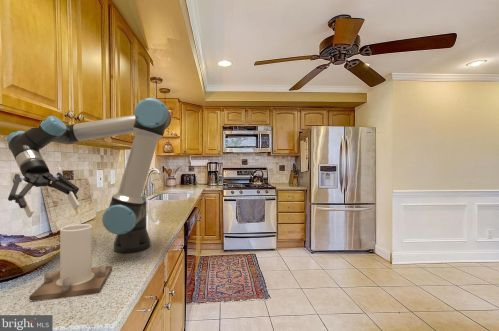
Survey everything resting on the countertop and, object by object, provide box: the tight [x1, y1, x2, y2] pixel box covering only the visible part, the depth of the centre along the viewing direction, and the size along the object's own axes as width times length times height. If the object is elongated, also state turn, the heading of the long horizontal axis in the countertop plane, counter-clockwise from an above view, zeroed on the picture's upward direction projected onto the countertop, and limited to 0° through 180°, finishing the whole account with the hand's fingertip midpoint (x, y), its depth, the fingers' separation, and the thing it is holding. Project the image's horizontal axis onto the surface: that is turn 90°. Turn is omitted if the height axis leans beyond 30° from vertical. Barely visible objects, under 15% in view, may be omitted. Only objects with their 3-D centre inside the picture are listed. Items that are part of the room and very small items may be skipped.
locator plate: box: [28, 265, 113, 301], centre depth 82 cm, size 17×17×4 cm
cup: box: [59, 223, 93, 283], centre depth 82 cm, size 8×8×16 cm
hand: (55, 211), depth 87 cm, fingers open, 13 cm apart
